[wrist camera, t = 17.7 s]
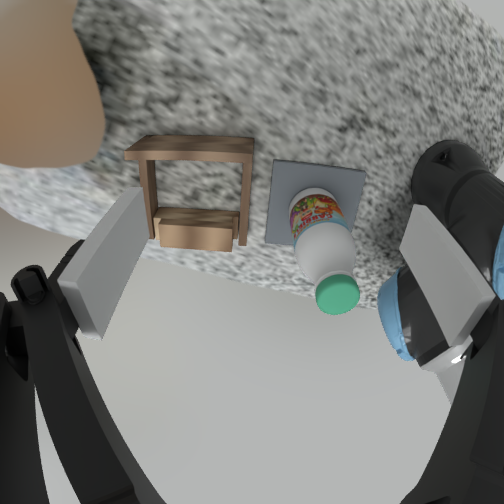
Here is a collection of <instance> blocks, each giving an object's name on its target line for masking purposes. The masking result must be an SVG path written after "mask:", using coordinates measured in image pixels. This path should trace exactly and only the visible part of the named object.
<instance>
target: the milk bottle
mask: <svg viewBox="0 0 504 504" xmlns="http://www.w3.org/2000/svg"><path fill="white" fill-rule="evenodd" d="M289 219H290V226H291V232H292V238H293V245H294V250H295V255H296V259H297V262H298V264H299V267H300V268H301V270H302V272H303V273H304V274H305V276H306V277H307V278H308V279H310V280H311V281H312V282H313V283H314V285H315V289H314V291H315V296H316V302H317V305H318V307H319V308H320V310H321V311H323V312H324V313H327V314H331V315H338V314H342V313H346V312H348V311H350V310H351V309H353V308H354V307H355V306H356V305H357V303H358V301H359V298H360V291H359V287H358V285H357V283H356V279H355V277H354V276H353V275H352V273H353V268H354V265H355V261H356V247H355V242H354V239H353V236H352V234H351V231H350V229H349V226H348V224H347V222H346V220H345V217H344V215H343V213H342V211H341V209H340V207H339V205H338V203H337V201H336V199H335V198H334V196H333V195H332V194H331V193H330V192H328V191H326V190H324V189H321V188H308V189H305V190H303V191H301V192H299V193H298V194H297V195H296V196H295V197H294V198H293V199H292V201H291V203H290V206H289Z"/></svg>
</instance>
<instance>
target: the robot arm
mask: <svg viewBox="0 0 504 504" xmlns="http://www.w3.org/2000/svg"><path fill="white" fill-rule="evenodd" d="M411 192H412V198H413V201H414V205H413V209H412V212H411V215H410V218H409V221H408V224H407V227H406V230H405V233H404V236H403V239H402V242H401V245H400V247H399V250H400V252H401V254H402V255H403V257H404V259H405V260H406V262H407V264H406V265H405V266H403V267H400V268H399V269H398V270H397V271H396V273H395V274H394V275H393V276H392V277H390V278H389V279H388V280H387V281H386V282H385V283H384V284H383V285H382V286H381V287H380V289H379V292H378V297H377V300H378V303H377V305H378V311H379V315H380V319H381V322H382V325H383V328H384V330H385V333H386V335H387V337H388V339H389V341H390V343H391V345H392V347H393V348H394V349H396V351H397V354H398V355H399V356H400V357H401V358H402V359H403V360H405V361H410V360H411V361H413V360H414V359H416V360H417V362H418V364H419V366H420V367H421V369H423V370H427V371H432V372H434V373H436V374H437V376H438V378H439V380H440V382H441V385H442V387H443V389H444V391H445V393H446V395H447V397H448V399H449V401H450V404H451V409H450V412H449V415H448V417H447V420H446V423H445V425H444V428H443V430H442V433H441V435H440V438H439V440H438V442H437V445H436V447H435V449H434V452H433V454H432V456H431V458H430V460H429V462H428V464H427V467H426V468H425V471H424V473H423V475H422V476H421V479H420V480H419V482H418V484H417V485H416V486H415V488H414V489H413V490H412V491H411V492H410V493H408V494H407V495H406V496H405V498H404V499H403V500H402V501H401V503H400V504H504V182H503V181H501V180H500V179H498V178H497V177H496V176H494V175H493V174H491V173H490V172H489V170H488V168H487V167H486V165H485V164H484V162H483V161H482V159H481V158H480V156H479V155H478V154H477V153H476V152H475V151H474V150H473V149H472V148H470V147H469V146H467V145H465V144H464V143H462V142H459V141H455V140H446V141H442V142H439V143H437V144H435V145H434V146H432V147H431V148H429V149H428V150H427V151H426V152H425V153H424V154H423V156H422V157H421V158H420V160H419V162H418V163H417V165H416V168H415V170H414V173H413V177H412V184H411ZM149 237H150V235H149V229H148V223H147V216H146V209H145V202H144V194H143V187H128V188H127V189H126V190H125V191H124V193H123V194H122V195H121V196H120V197H119V198H118V200H117V201H116V202H115V203H114V204H113V206H112V207H111V208H110V209H109V211H108V212H107V213H106V214H105V215H104V217H103V218H102V219H101V220H100V222H99V223H98V224H97V226H96V227H95V228H94V229H93V231H92V232H91V233H90V235H89V236H88V237H87V239H86V240H82V239H81V240H79V241H78V242H77V243H75V244H74V245H73V246H72V247H71V248H70V249H69V250H68V251H67V253H66V254H65V256H64V257H63V258H62V260H61V261H60V263H59V264H58V265H57V267H56V268H55V269H54V271H53V272H52V274H51V275H50V277H49V278H48V279H47V277H46V275H45V273H44V270H43V268H42V267H41V266H38V265H30V266H28V267H25V268H23V269H21V270H20V271H19V272H17V273H16V274H15V276H14V277H13V279H12V280H11V287H12V289H13V291H14V293H15V295H16V297H17V298H18V301H11V302H8V301H7V299H6V297H5V295H4V294H3V293H2V292H0V504H50V503H49V499H48V495H47V491H46V486H45V481H44V476H43V470H42V465H41V458H40V451H39V444H38V434H37V424H36V410H35V387H36V391H37V394H38V398H39V402H40V405H41V408H42V411H43V415H44V417H45V421H46V424H47V427H48V430H49V433H50V435H51V438H52V441H53V443H54V446H55V449H56V451H57V454H58V456H59V459H60V461H61V463H62V466H63V468H64V470H65V472H66V475H67V477H68V479H69V481H70V483H71V485H72V487H73V489H74V491H75V493H76V495H77V497H78V499H79V501H80V503H81V504H166V503H165V502H164V500H163V499H162V498H161V497H160V495H159V494H158V493H157V491H156V490H155V488H154V487H153V485H152V484H151V482H150V481H149V480H148V478H147V477H146V475H145V474H144V472H143V470H142V469H141V467H140V466H139V464H138V463H137V461H136V459H135V458H134V456H133V455H132V453H131V451H130V449H129V448H128V446H127V444H126V443H125V441H124V439H123V437H122V436H121V434H120V432H119V430H118V428H117V426H116V425H115V423H114V421H113V419H112V417H111V415H110V413H109V411H108V409H107V407H106V405H105V403H104V401H103V399H102V397H101V394H100V392H99V390H98V388H97V386H96V384H95V381H94V379H93V377H92V374H91V372H90V370H89V367H88V365H87V363H86V360H85V358H84V355H83V352H82V350H81V347H80V344H79V342H78V339H77V338H76V336H75V334H76V332H77V330H78V328H80V330H81V331H82V333H83V335H84V337H86V338H92V339H97V340H102V339H103V336H104V334H105V332H106V329H107V327H108V324H109V322H110V320H111V317H112V315H113V313H114V310H115V308H116V306H117V304H118V301H119V299H120V297H121V295H122V292H123V290H124V288H125V286H126V284H127V282H128V280H129V278H130V275H131V273H132V271H133V269H134V267H135V265H136V263H137V261H138V259H139V257H140V255H141V253H142V251H143V249H144V247H145V245H146V243H147V241H148V239H149Z"/></svg>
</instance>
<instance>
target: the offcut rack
mask: <svg viewBox="0 0 504 504" xmlns="http://www.w3.org/2000/svg"><path fill="white" fill-rule="evenodd" d="M253 149H254V138H244V137H226V136H199V135H149V136H145V137H143V138H142V139H140V140H139V141H137V142H136V143H135V144H133V145H132V146H131V147H129V148H128V149H126V150H125V151H124V155H125V160H138V161H139V174H140V184H141V187H143V194H144V202H145V209H146V216H147V223H148V229H149V235H150V237H149V239H154V238H155V236H156V240H160V246H161V247H170V248H183V249H197V250H210V251H223V252H232V246H233V239H237V238H238V225H239V212H236V211H221V210H205V209H188V208H169V207H159V209H158V203H157V191H156V177H155V161H154V160H192V161H217V162H235V163H243V174H242V191H241V208H240V226H239V244H238V245H239V246H246V242H247V230H248V216H249V202H250V189H251V175H252V162H253Z"/></svg>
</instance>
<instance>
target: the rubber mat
mask: <svg viewBox="0 0 504 504" xmlns="http://www.w3.org/2000/svg"><path fill="white" fill-rule="evenodd" d="M365 177H366V172H365V171H361V170H355V169H348V168H341V167H334V166H327V165H319V164H311V163H302V162H293V161H283V160H274V161H273V170H272V180H271V189H270V199H269V208H268V217H267V226H266V235H265V243H269V244H282V245H293V238H292V232H291V226H290V219H289V206H290V203H291V201H292V199H293V198H294V197H295V196H296V195H297V194H298V193H299V192H301V191H303V190H305V189H308V188H321V189H324V190H326V191H328V192H330V193H331V194H332V195H333V196H334V198H335V199H336V201H337V203H338V205H339V207H340V209H341V211H342V213H343V215H344V217H345V220H346V222H347V224H348V226H349V229H350V231H351V232H352V229H353V225H354V221H355V217H356V213H357V210H358V206H359V202H360V198H361V194H362V189H363V185H364V181H365Z"/></svg>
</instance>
